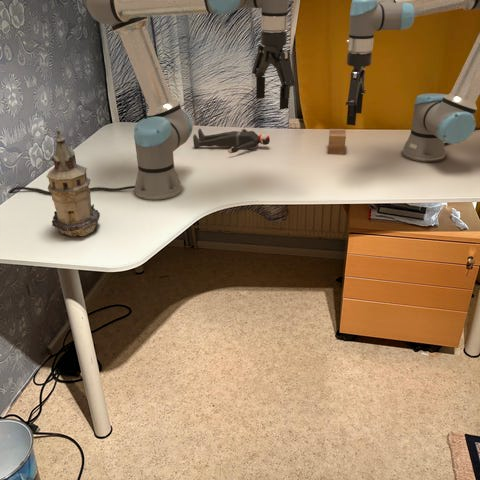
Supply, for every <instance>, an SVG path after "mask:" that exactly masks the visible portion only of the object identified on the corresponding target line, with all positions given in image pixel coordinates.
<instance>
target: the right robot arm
mask: <svg viewBox="0 0 480 480" xmlns="http://www.w3.org/2000/svg"><path fill="white" fill-rule="evenodd" d="M459 9H463V10H464V11H470V10H473V11H474V10H480V0H351V4H350V11H349V29H348V39H346V41H345V42H346V44H347V51H348V52H347V53H346V65H348V66H349V67H353V69H352V70H351V71H350V81H349V88H348V96H347V101H346V102H345V106H347V112H346V113H347V114H346V126H356V124H357V123H356V121H357V114H362V111H363V101H364V100H363V99H364V94H366V92H367V91H366V89H365V75H366V67H369V66H371V64H372V57H373V53H372V52H373V49H374V41H375V40H374V37H375V31H376V32H378V31H397V30H398V31H401V30H408V29H410V28H411V27H412V26H413V24H414V21H415V18H416V17H422V16H427V15H428V16H429V15H432V14H438V13H445V12H449V11H454V10H459ZM479 96H480V32H479V33H478V35H477V37H476V39H475V41H474V43H473V45H472V48H471V50H470V52H469V53H468V55H467V58H466V60H465V62H464V64H463V66H462V68H461V71H460V72H459V74H458V77H457V79H456V81H455V83H454V85H453V87H452V89H451V91H450V92H449V93H448V94H446V93H431V92H430V93H421V94H418V95H417V96H416V98H415V100H414V103H413V106H414V107H413V113H412V121H411V127H410V134H409V136H408V138H407V140H406V142H405V144H404V146H403V148H402V155H403V156H404V157H405V158H407V159H408V160H412V161H415V162H421V163H435V162H440V161H443V160H444V159H445V158H446V149H445V146H446V145H449V144H450V145H456V144H460V143H462V142H464V141H466V140H468V139H469V138H470V137H471V136H472V135H473V134H474V132H475V130H476V131H477V130H479V129H480V126H477V125H476V124H477V123H476V118H475V114H476V112H477V110H478V107H477V104H476V102H477V100H478V99H479ZM476 126H477V127H476Z"/></svg>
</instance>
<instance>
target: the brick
mask: <svg viewBox="0 0 480 480" xmlns="http://www.w3.org/2000/svg"><path fill="white" fill-rule="evenodd" d="M328 133H329V135H328V147H327V148H328V149H327V154H329V155H345V151H346V149H345V148H346V140H347V132H346V129H345V128H329V132H328Z"/></svg>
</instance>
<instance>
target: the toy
mask: <svg viewBox="0 0 480 480" xmlns="http://www.w3.org/2000/svg"><path fill="white" fill-rule="evenodd" d="M202 130H203V129H201V128H198V130H197V134H198V136H197V134H193V136H192V141H193V147H194V148H195V149H198V148H201V147H210V148H211V147H228V148H229V149H227V153H229V154H230V155H231V154H234V153H238V152H239V151H242V150H245V149H248V150H254V149H257V148H258V146H259V144H260V145H264V146H267V145H269V144H270V142H271V139H270V136H269V135H268V134H259V135H258V134H257V133H256V132H255V131H254V130H247V129H245V128H241V129H240V131H239V130H238V131H237V130H234V131H225V132H220V133H215V134H208V135H205V133H204V132H203V131H202Z"/></svg>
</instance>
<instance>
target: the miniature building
mask: <svg viewBox="0 0 480 480" xmlns="http://www.w3.org/2000/svg"><path fill="white" fill-rule="evenodd" d="M56 134H57V136H56V138H55V140H54V141H55V142H56V147H55V154H54V156H52V157H51V161H52V162H53V165H54V167H53V168H51V169H50V170H49V171H48V173H47V174H46V178H47V179H48V182H49V184H48V186H47V191H49V192H51V193H52V194H51V200H52V201H53V205H54V209H55V211H53V217H52V220H51V223H52V225H51V227H54V228H56V229H58V230H59V231H60V234H63V235H64V234H65V235H66V236H69V237H77V236H80V237H83V236H87V235H88V234H90V233H93V232H94V231H95V229H96V226H97V225H98V223H99V220H100V216H101V213H100V212H99V210H98V209H96V208H95V204H92V201H91V200H92V199H91V198H92V197H91V192H92V190H91V191H90V189H89V188H90V184H91V178H89V177H88V174H87V167H85V166H84V165H83V166H82V165H80V164H77V160H76V154H75V151H74V150H70V149H69V147H68V145H67V143H66V138H65V137H64V136H63V135H61V130H60V129H56Z"/></svg>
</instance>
